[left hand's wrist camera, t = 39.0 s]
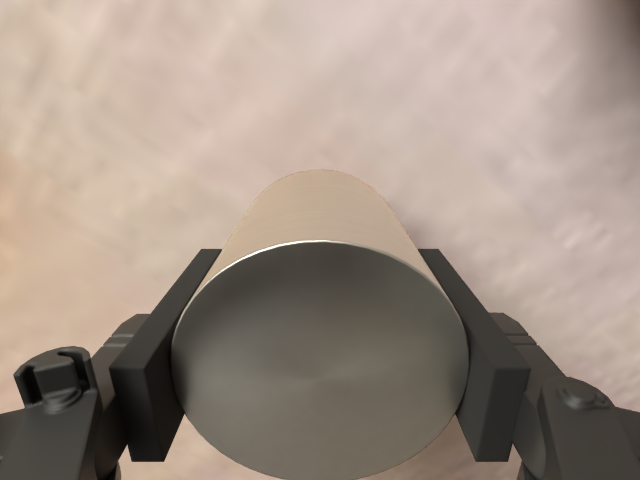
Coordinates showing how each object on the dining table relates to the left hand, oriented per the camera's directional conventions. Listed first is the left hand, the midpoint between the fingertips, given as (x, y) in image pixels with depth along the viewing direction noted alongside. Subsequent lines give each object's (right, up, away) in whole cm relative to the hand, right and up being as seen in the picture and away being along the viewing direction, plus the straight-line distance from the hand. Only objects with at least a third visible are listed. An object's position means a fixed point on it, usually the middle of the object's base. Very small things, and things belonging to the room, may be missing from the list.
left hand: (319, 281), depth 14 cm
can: (0, +1, +3) cm, 3 cm away
